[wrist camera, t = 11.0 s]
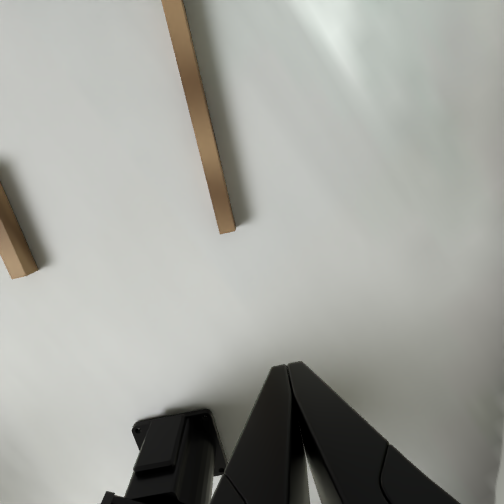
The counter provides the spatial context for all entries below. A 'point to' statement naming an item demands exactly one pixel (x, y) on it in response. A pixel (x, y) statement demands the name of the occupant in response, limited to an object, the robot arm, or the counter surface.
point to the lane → (5, 223)
